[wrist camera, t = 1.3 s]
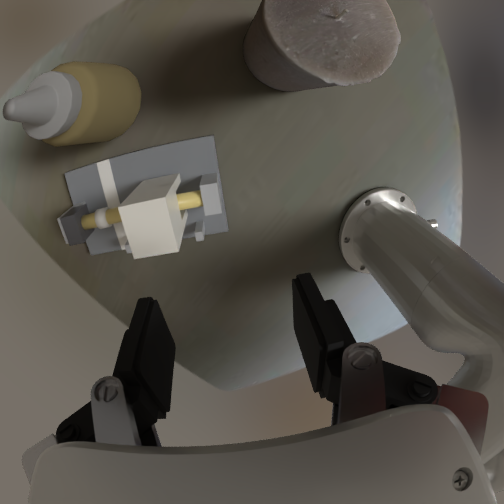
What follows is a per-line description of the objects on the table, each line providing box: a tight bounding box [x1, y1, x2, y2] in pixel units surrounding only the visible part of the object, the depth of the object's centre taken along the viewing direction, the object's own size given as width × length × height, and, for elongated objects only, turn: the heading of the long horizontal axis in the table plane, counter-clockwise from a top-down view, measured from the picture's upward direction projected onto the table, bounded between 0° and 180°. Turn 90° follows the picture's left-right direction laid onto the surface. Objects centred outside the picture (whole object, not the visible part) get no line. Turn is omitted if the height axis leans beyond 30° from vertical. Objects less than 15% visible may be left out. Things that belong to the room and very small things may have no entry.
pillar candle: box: [243, 0, 401, 92], centre depth 17 cm, size 10×10×15 cm
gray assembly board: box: [57, 135, 229, 255], centre depth 27 cm, size 18×11×6 cm, turn 96°
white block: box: [118, 173, 188, 259], centre depth 25 cm, size 4×5×8 cm
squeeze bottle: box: [3, 62, 142, 147], centre depth 16 cm, size 8×8×18 cm
